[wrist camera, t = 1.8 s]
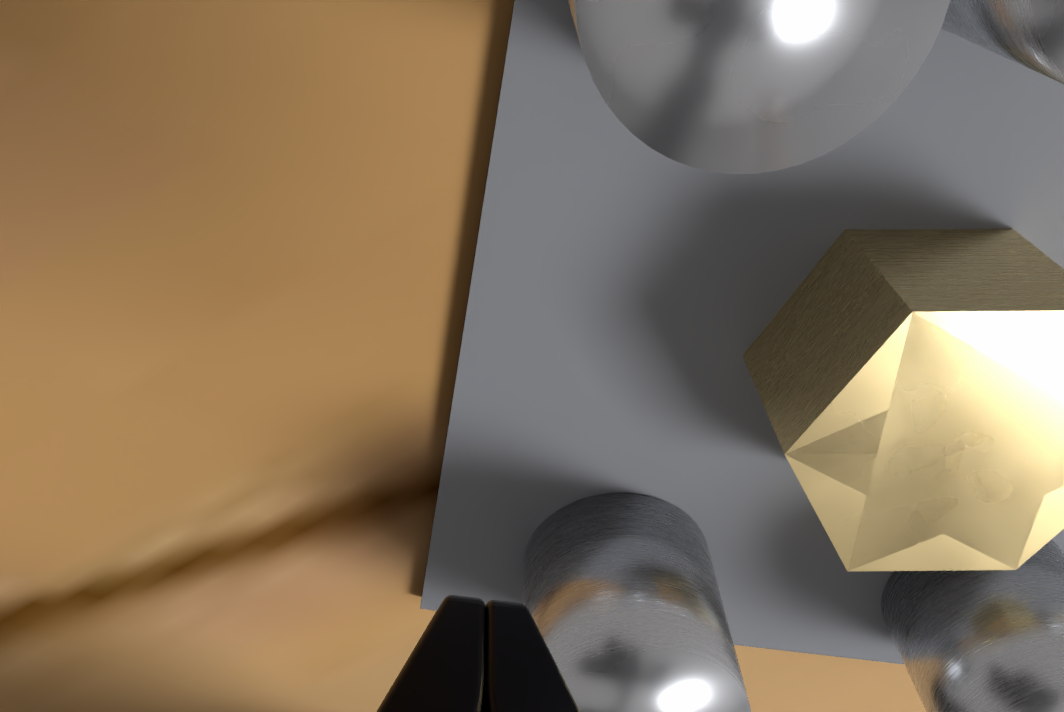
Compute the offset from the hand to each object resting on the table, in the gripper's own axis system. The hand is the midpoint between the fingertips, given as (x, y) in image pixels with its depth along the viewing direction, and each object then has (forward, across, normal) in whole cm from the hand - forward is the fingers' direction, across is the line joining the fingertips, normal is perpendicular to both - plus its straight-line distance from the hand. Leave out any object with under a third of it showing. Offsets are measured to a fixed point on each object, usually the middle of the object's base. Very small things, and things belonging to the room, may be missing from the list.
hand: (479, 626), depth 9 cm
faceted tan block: (+8, -8, 0) cm, 11 cm away
